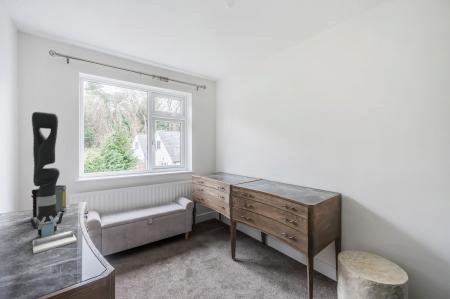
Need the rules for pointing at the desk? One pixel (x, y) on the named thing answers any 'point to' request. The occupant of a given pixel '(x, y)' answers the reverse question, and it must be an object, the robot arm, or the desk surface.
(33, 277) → the desk surface
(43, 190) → the robot arm
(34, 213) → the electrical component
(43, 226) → the block
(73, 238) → the rail plate
